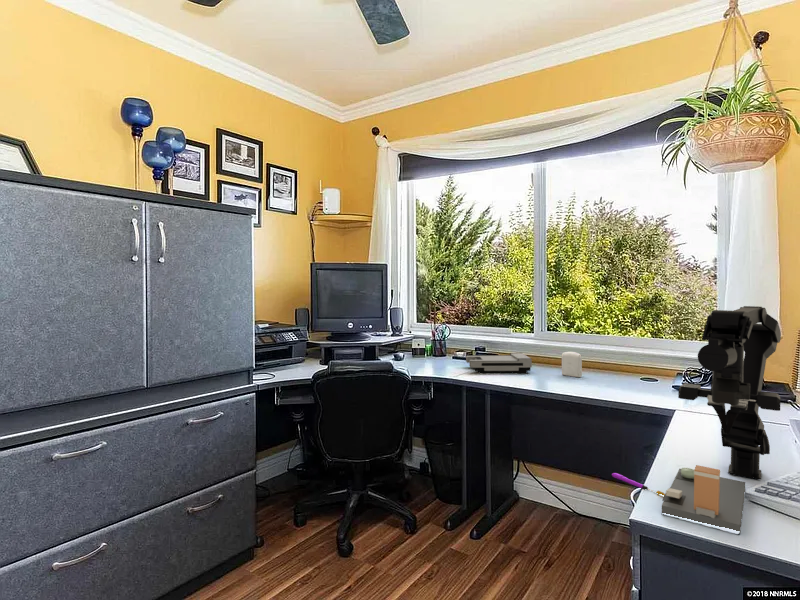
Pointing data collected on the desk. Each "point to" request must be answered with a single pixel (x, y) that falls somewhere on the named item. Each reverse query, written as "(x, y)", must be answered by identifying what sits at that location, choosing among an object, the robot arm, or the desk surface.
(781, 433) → the desk surface
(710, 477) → the fader knob
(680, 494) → the block
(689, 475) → the push button
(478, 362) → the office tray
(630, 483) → the purple screwdriver
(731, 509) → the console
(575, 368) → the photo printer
